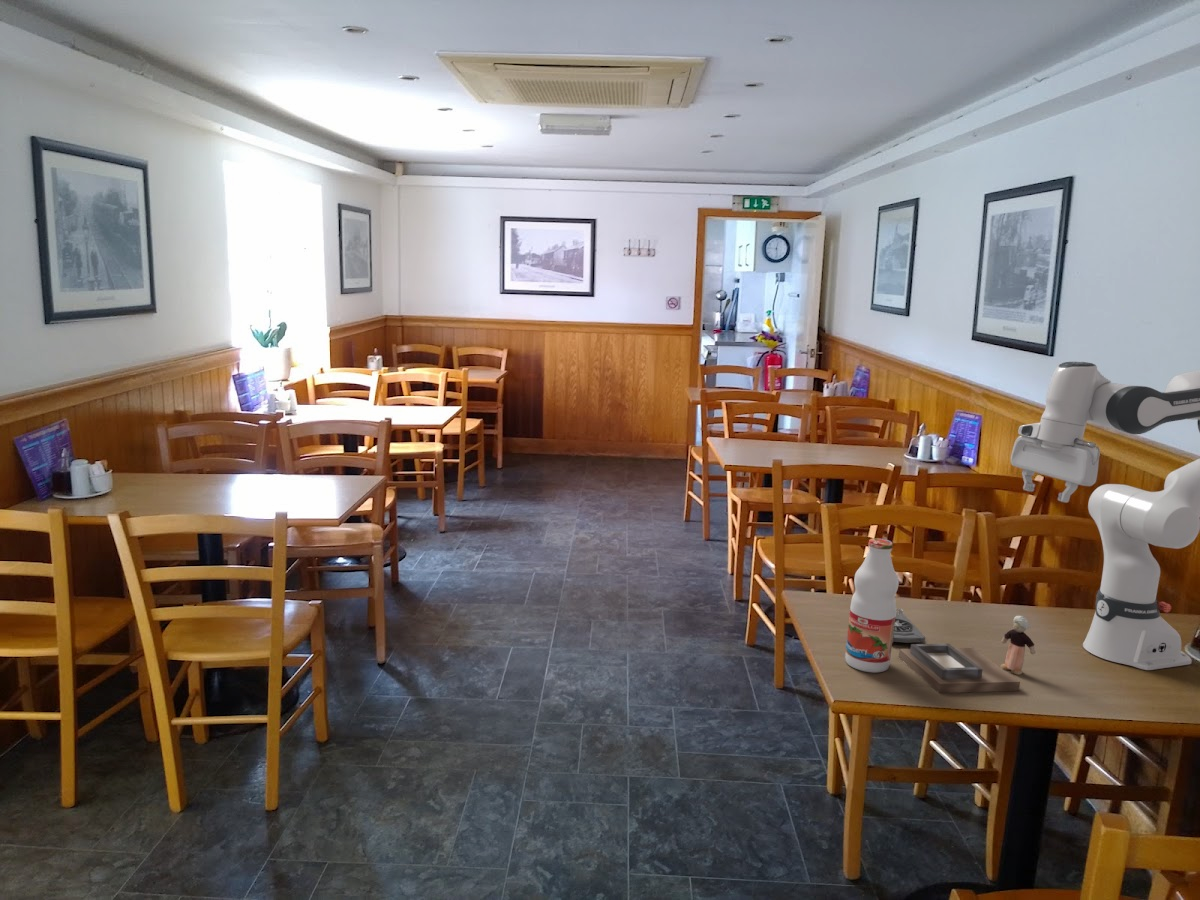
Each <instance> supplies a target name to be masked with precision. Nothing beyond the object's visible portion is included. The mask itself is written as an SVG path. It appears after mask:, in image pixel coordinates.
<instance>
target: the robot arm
mask: <svg viewBox="0 0 1200 900" xmlns="http://www.w3.org/2000/svg"><path fill="white" fill-rule="evenodd" d="M1182 420H1197V421H1196V422H1197V429H1198V432H1199V433H1200V369H1198V370H1192V371H1187V372H1184V373H1181V374H1177V375H1175V376H1173V377H1172V379H1170V380H1169V382H1168V383H1167V386H1166V388H1165V391H1158V390H1157V389H1154V388H1152V387H1150V386H1149V387H1148V386H1143V385H1130V384H1124V383H1117V382H1116V383H1115V382H1112V381H1111V380H1109V379H1108V378H1106V377H1105V376H1104V375H1102V374H1101V372H1100V371H1099V370H1098V366H1097V365H1096V364H1094V363H1092V362H1087V361H1086V362H1085V361H1067V362H1066V361H1065V362H1062V363H1060V364H1059V365H1057V366H1056V368H1055V369H1054V372H1053V374H1052V375H1051V378H1050V381H1049V384H1048V387H1047V392H1046V396H1045V409H1044V411H1043V412H1042V415H1041V418H1040V419H1039V421H1040V422H1035V423H1030V424H1029V423H1028V424H1023V425H1020V426H1019V427H1018V430H1017V432H1018V433H1017V434H1019V435H1018V436H1017V437H1016V439H1015V441H1014V444H1013V446H1012V450H1011V454H1010V464H1011V465H1012V466H1013V467H1016V468H1018V469H1021V470H1022V472H1021V477H1022V480H1023V482H1024V483H1023V486H1022V489H1023V491H1027V492H1034V491H1035V487H1036V484H1035V483H1034V482H1033V477H1032V476H1034V475H1035V473H1037V474H1040V475H1042V476H1043V475H1044V476H1048V477H1049V478H1054V479H1058V480H1060V481H1061V480H1062V481H1064V482H1065V483H1064V486H1065V487H1066V488H1065V489H1064V490H1063V491H1062V492H1058V497H1057V501H1059V502H1061V503H1069V502H1070V499H1071V495H1072V494H1074V492H1076V491H1077V489H1078V487H1079V486H1084V487H1092V486H1093V485H1094V484H1096V482H1097V478H1098V473H1099V472H1098V471H1099V463H1100V462H1099V461H1100V456H1101V455H1100V454H1101V449H1100V448H1099V446H1098V445H1097V444H1096V443H1095V442H1093V441H1088V440H1084V434H1085V431H1086V427H1087V423H1088V424H1091V425H1096V426H1100V427H1105V428H1109V429H1114V430H1119V431H1121V432H1124V433H1127V434H1130V435H1142V434H1145V433H1148V432H1150V431H1152V430H1153V429H1156V428H1157V427H1159V426H1161V425H1163V424H1166V423H1171V422H1177V421H1182ZM1163 485H1164V486H1163V489H1162V490H1159V491H1148V490H1144V489H1141V488H1139V487H1135V486H1132V485H1131V486H1130V485H1127V484H1118V483H1105V484H1102V485H1100V486H1098V487H1097V488H1096V489H1094V491H1093V492H1092V493H1091V494H1090V496H1089V499H1088V505H1087V509H1088V514H1089V515H1090V516H1091V518H1092V519H1093V520H1094V523H1095V525H1096V526H1097V529H1098V532H1099V535H1100V538H1101V543H1102V549H1103V551H1102V552H1103V566H1102V567H1103V568H1102V573H1101V574H1102V575H1101V582H1100V587H1099V589H1098V590H1097V593H1096V599H1095V612H1094V614H1093V615H1094V616H1093V617H1092V621H1091V624H1090V628H1089V630H1088V632H1087V634H1086V637H1085V640H1084V641H1083V643H1082V647H1083V649H1085V650H1086V651H1087V652H1088V653H1091V654H1092V655H1094V656H1096V657H1098V658H1101V659H1103V660H1107V661H1110V662H1114V663H1118V664H1123V665H1127V666H1131V667H1134V668H1137V669H1140V670H1145V671H1153V670H1159V669H1165V668H1172V667H1173V668H1174V667H1181V666H1188V665H1191V664H1192V658H1191V657H1190V656H1189V655H1188V654H1187V653H1185V652H1184V651H1182V639H1181V635H1180V634H1179V632H1178V631H1177V630H1176V629H1175V628H1173V626H1171V625H1170V624H1169V623H1168V622H1167V621H1166V620H1165V619H1164V618H1163V617H1162V616H1161V614H1160V611H1162V612H1164V613H1169V612H1170V611H1171V609H1172V605H1171V604H1170V603H1167V602H1165V601H1158V599H1157V593H1158V588H1159V583H1160V582H1159V581H1160V578H1161V566H1160V564H1159V562H1158V561H1157V560H1156V558H1155V556H1153V554H1152V552H1151V549H1150V546H1149V544H1150V545H1153V546H1155V547H1162V548H1167V549H1168V548H1169V549H1176V550H1177V549H1183V548H1185V547H1187V546H1190V545H1191V544H1192V543H1193V542H1194V541H1195V540H1196V538H1197V537H1198V535H1199V533H1200V458H1197V459H1195V460H1193V461H1192V462H1191V461H1190V462H1189V463H1187V464H1185V465H1183V466H1181V467H1179V468H1177V469H1174V470H1173V471H1171V472H1170V473H1168V475H1167V476H1166V478H1165V481H1164V484H1163Z"/></svg>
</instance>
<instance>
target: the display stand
mask: <svg viewBox="0 0 1200 900" xmlns="http://www.w3.org/2000/svg"><path fill="white" fill-rule="evenodd" d="M898 657H899V658H900V660H901V662H903V661H904V662H905V663H906V664H907V665H906V664H905V663H904V662H903V663H904V664H905V665H906V666H907V667H908V668H910V669H911V670H912V671H913V670H914V671H915V672H914V671H913V672H914V673H915V674H916V675H918V676H919V677H920V676H921V677H922V678H923V681H925V682H926V683H927V684H928V685H929V684H930V685H931V686H930V685H929V686H930V687H932V689H934V690H935V691H936V692H937V691H938V692H937V693H939V694H944V693H945V694H946V693H950V694H952V693H976V692H977V693H979V692H980V693H981V692H986V693H987V692H1017V691H1018V692H1019V691H1020V686H1021V681H1020V680H1019V679H1017V678H1016V677H1014V676H1013V675H1011V674H1010V673H1009V672H1008V671H1007V670H1004V669H1002V668H1001V667H1000V666H999V665H998V664H996V663H995V662H993V660H991V659H989V658H988V657H987V656H985V655H984V654H983V653H982V652H979V650H977V649H976V648H974V647H953V645H951V644H950V643H910V648H900V649H898ZM899 658H898V659H899ZM921 677H920V678H921ZM922 678H921V679H922Z"/></svg>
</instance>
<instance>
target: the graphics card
mask: <svg viewBox="0 0 1200 900" xmlns="http://www.w3.org/2000/svg"><path fill="white" fill-rule="evenodd" d="M909 628H910V629H911V630H910V629H909ZM894 642H896V643H903V644H904V643H905V644H907V643H910V644H913V643H921V644H924V643H926V636H925V635H924V634H923V633H922V632H921V631H920V630H919V628H917V627H916V626H915V624H914V623H912V621H910V619H909V618H908V617H907V616H906V615H905V614H904V610H903V608H898V609H897V608H896V616H895V624H894V632H893V641H892V643H894Z"/></svg>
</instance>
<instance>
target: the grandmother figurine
mask: <svg viewBox="0 0 1200 900" xmlns="http://www.w3.org/2000/svg"><path fill="white" fill-rule="evenodd" d="M1012 627H1013V629H1010V630H1008V631H1007V632H1006V633H1004V635H1003V636H1002V639H1001V641H1000V642H1001V643H1002V644H1007V641H1008V640H1009V643H1008V647H1007V650H1006V651H1007V652H1006V656H1005V662H1004V663H1002V664H1000V666H999V667H1000V668H1002V669H1003V670H1005V671H1009V670H1010V672H1011V673H1012V674H1013V675H1018V676H1020V675H1022V674H1023V670H1022V669H1023V665H1024V662H1025V654H1026V653H1025V652H1026V647H1027V648H1028V649H1029V651H1030V654H1031V655H1035V654H1036V650H1035V643H1034V642H1033V640H1032V639H1031V637H1029V636H1028V635H1027V634H1026V633H1025V631H1026V630H1029V628H1031V626H1030V622H1029V620H1028V619H1027V618H1026V617H1025V616H1023V615H1015V616H1014V618H1013V626H1012Z"/></svg>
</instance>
